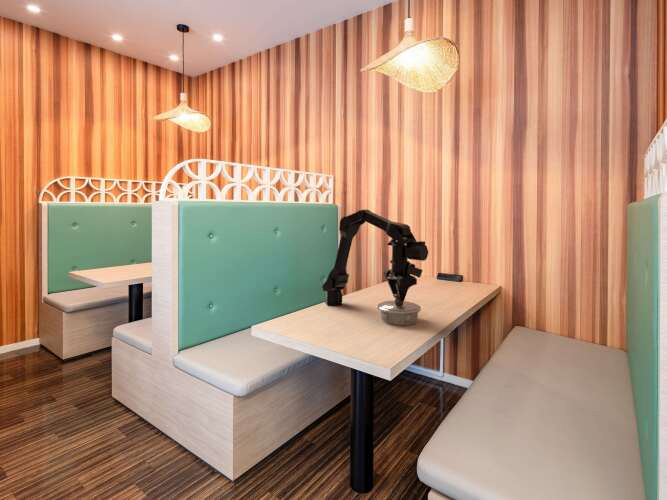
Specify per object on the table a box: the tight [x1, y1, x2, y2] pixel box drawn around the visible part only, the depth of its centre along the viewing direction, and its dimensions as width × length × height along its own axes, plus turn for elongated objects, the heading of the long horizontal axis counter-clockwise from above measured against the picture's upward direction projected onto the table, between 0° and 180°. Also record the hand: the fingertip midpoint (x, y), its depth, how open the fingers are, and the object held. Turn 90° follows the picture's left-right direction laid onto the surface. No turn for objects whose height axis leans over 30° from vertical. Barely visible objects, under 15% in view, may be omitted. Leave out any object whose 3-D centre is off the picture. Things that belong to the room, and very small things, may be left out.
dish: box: [380, 311, 419, 326], centre depth 141 cm, size 14×14×5 cm
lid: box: [377, 293, 422, 314], centre depth 141 cm, size 16×16×5 cm
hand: (398, 299), depth 141 cm, fingers open, 7 cm apart
